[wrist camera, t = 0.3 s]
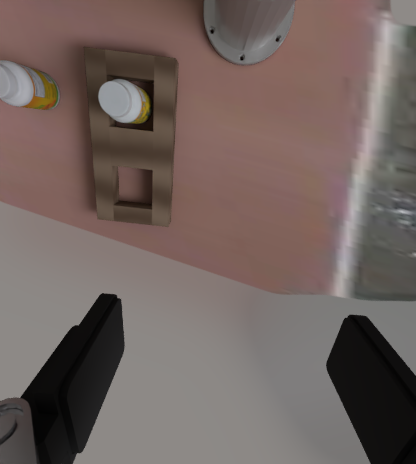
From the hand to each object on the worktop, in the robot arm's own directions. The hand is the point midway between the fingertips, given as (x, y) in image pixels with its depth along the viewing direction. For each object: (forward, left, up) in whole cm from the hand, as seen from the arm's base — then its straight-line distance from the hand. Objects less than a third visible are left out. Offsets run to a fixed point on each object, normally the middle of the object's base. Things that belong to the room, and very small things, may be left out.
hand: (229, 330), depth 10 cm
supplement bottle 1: (-11, -30, -36) cm, 48 cm away
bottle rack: (-4, -15, -36) cm, 39 cm away
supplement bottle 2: (-10, -15, -36) cm, 40 cm away
